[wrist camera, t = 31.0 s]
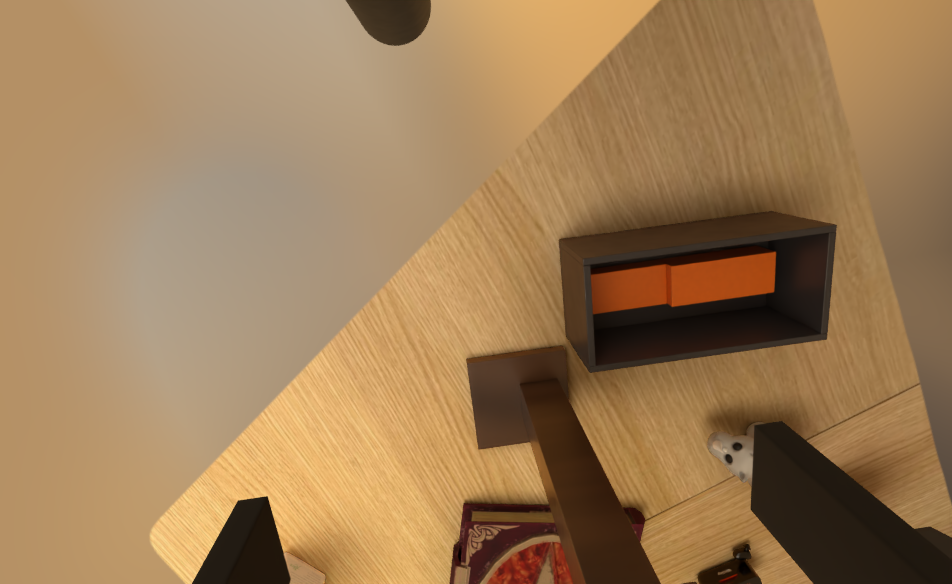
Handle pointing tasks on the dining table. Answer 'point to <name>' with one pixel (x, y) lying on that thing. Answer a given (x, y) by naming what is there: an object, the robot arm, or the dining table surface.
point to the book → (514, 545)
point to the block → (684, 279)
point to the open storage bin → (709, 323)
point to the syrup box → (302, 571)
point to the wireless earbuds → (732, 571)
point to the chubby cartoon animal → (735, 451)
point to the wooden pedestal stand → (558, 461)
